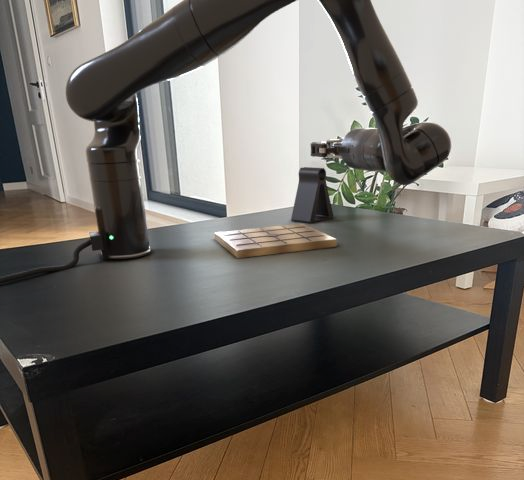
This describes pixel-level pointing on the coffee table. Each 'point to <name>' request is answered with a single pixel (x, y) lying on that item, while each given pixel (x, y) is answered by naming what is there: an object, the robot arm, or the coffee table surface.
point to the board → (273, 240)
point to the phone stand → (312, 197)
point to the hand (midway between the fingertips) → (332, 146)
